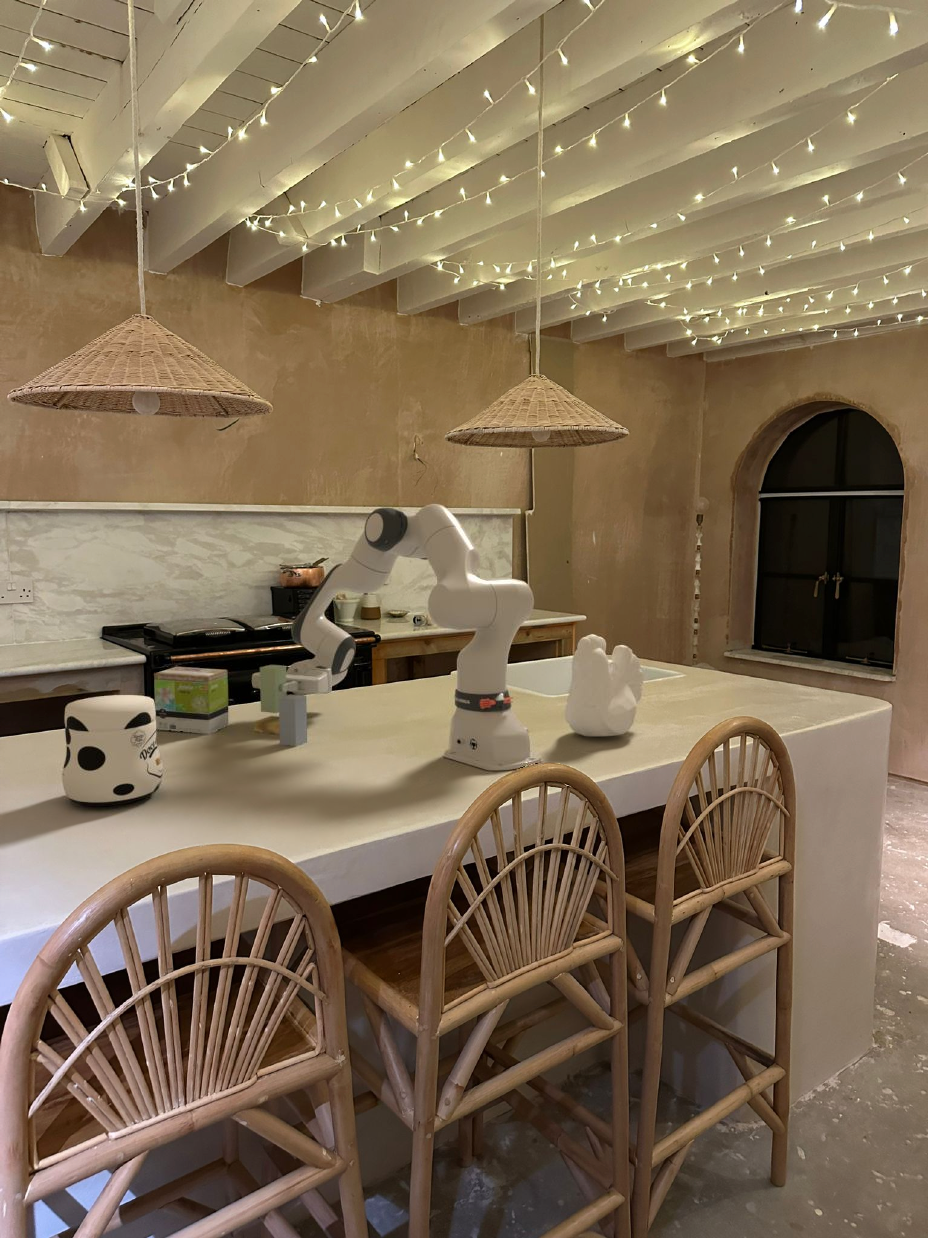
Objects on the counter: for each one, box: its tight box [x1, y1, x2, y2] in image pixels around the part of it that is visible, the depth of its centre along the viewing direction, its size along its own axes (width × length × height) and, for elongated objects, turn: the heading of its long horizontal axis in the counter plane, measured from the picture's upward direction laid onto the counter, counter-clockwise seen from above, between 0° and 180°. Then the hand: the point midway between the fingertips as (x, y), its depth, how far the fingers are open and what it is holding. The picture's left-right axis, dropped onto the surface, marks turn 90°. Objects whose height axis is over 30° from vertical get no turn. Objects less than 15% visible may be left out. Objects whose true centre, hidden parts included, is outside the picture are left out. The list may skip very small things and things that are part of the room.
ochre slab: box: [253, 715, 280, 735], centre depth 213 cm, size 7×7×2 cm
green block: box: [259, 664, 288, 714], centre depth 212 cm, size 4×4×11 cm
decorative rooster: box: [563, 633, 644, 737], centre depth 208 cm, size 25×16×25 cm, turn 120°
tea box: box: [153, 666, 229, 735], centre depth 213 cm, size 15×10×15 cm, turn 76°
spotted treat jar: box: [61, 694, 164, 807], centre depth 159 cm, size 17×17×18 cm
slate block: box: [278, 693, 308, 747], centre depth 199 cm, size 4×4×11 cm
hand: (271, 687), depth 211 cm, fingers closed on green block, 4 cm apart
